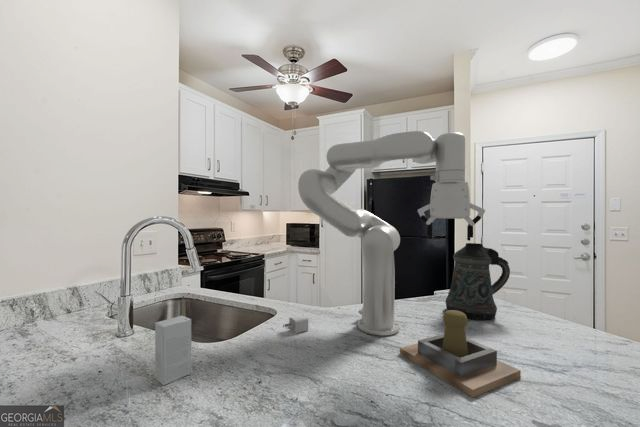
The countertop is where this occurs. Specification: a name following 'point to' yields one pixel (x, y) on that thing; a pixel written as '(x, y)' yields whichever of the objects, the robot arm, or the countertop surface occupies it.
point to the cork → (455, 333)
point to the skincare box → (172, 349)
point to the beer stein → (475, 282)
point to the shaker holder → (462, 365)
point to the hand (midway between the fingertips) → (449, 239)
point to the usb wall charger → (297, 324)
